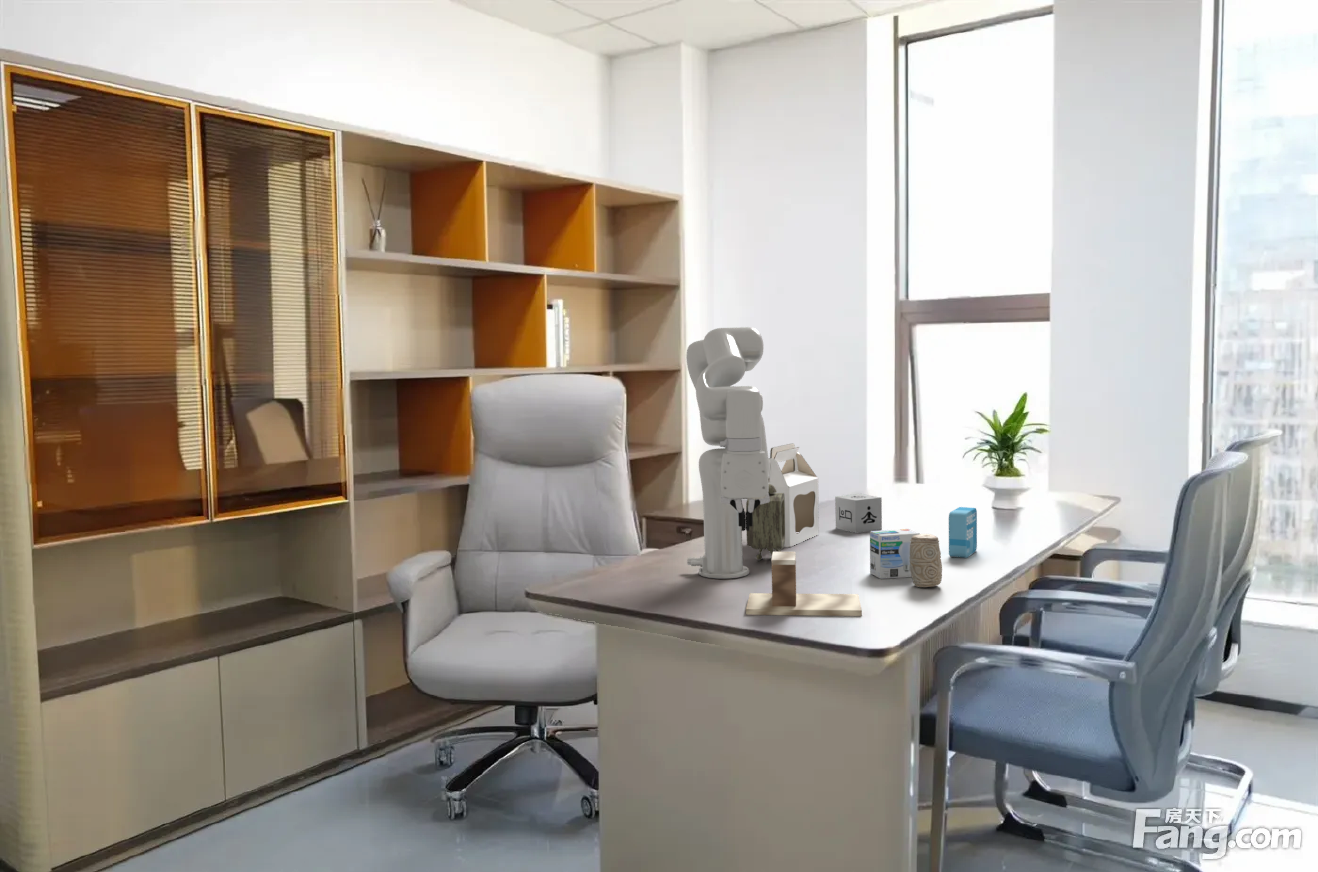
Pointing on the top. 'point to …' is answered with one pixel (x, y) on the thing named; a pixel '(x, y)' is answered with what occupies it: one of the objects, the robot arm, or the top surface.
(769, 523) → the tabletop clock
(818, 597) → the birch board
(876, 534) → the light bulb box
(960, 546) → the data package
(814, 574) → the top surface
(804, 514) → the gable box
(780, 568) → the walnut block
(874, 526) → the icon cube
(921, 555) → the carving
